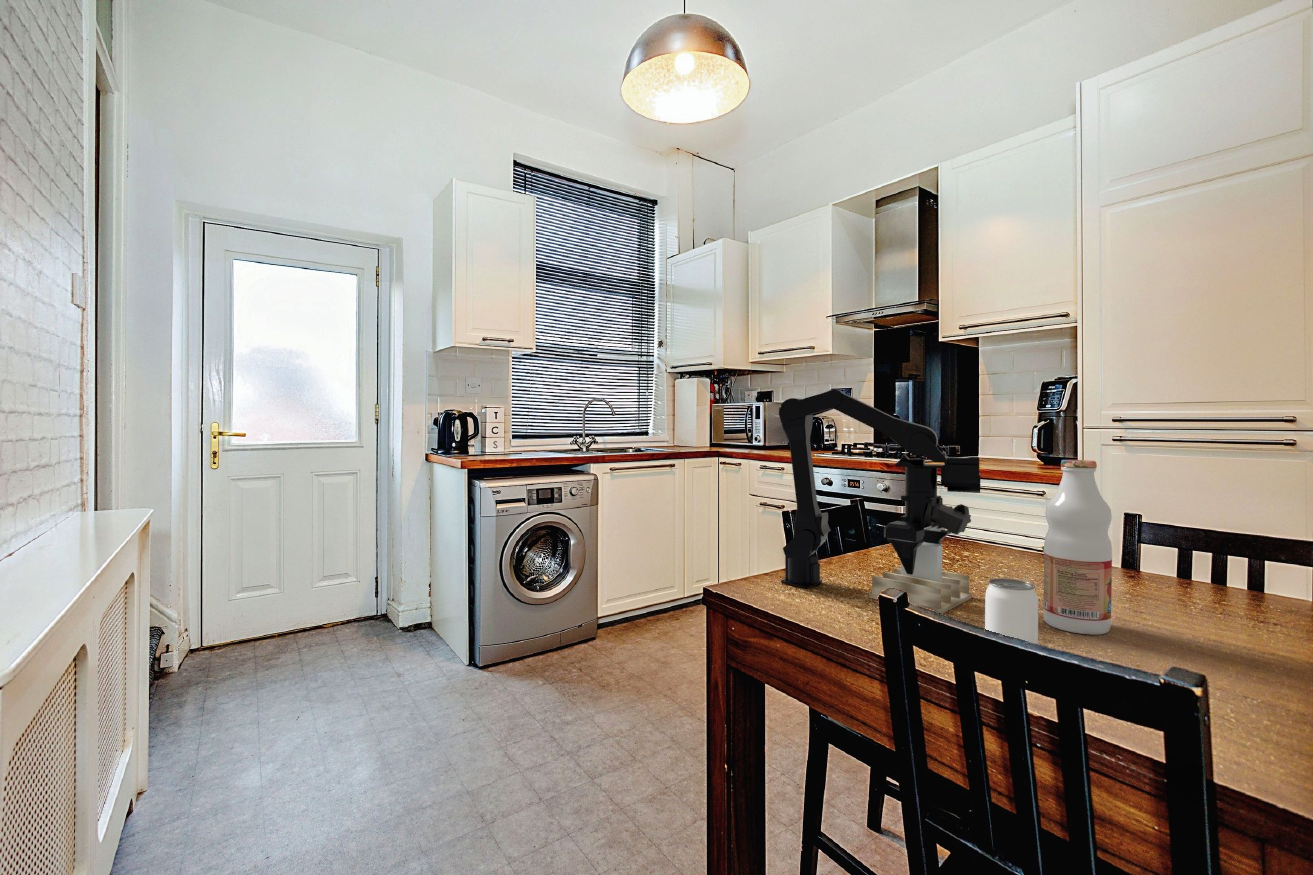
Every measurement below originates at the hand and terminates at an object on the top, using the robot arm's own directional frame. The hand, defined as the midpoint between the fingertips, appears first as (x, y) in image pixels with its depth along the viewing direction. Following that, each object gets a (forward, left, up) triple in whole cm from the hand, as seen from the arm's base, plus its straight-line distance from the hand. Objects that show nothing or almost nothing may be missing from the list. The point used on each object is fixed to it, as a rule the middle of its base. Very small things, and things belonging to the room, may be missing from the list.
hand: (920, 569), depth 118 cm
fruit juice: (+25, +3, -6) cm, 26 cm away
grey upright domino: (0, 0, -5) cm, 5 cm away
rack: (0, 0, -6) cm, 6 cm away
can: (+23, -23, -6) cm, 33 cm away
